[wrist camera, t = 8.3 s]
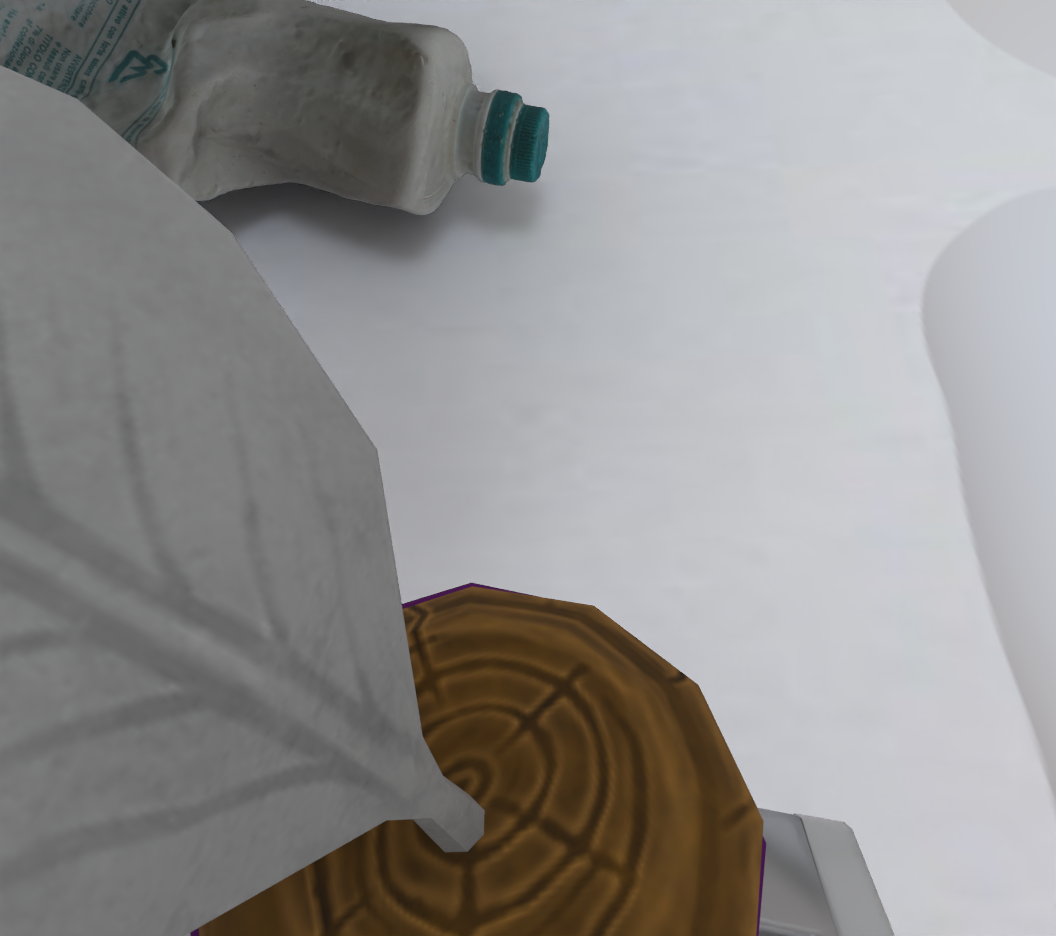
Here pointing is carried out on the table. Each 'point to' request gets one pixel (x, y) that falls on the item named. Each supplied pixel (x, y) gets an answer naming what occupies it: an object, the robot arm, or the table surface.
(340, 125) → the crushed plastic bottle
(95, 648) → the purple potion bottle
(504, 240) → the table surface
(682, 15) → the table surface
